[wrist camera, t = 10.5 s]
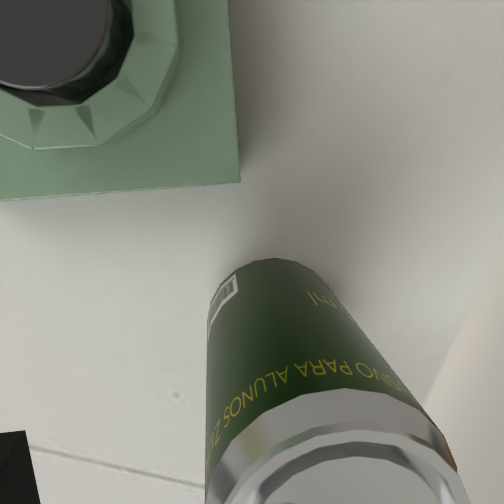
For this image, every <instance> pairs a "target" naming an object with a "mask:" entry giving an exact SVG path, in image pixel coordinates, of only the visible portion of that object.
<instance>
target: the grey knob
mask: <svg viewBox="0 0 504 504" xmlns="http://www.w3.org/2000/svg"><path fill="white" fill-rule="evenodd" d="M123 32H124V19H123V11H122V6H121V2H120V0H0V83H1V84H3V85H6V86H10V87H14V88H18V89H22V90H26V91H30V92H34V93H38V94H42V95H49V96H64V95H71V94H74V93H78V92H81V91H83V90H85V89H88V88H89V87H91V86H93V85H94V84H96V83H97V82H98V81H99V80H101V79H102V78H103V77H104V76H105V75H106V74H107V72H108V71H109V70H110V69H111V67H112V66H113V64H114V62H115V60H116V58H117V56H118V54H119V51H120V48H121V45H122V40H123Z"/></svg>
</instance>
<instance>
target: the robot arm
mask: <svg viewBox="0 0 504 504" xmlns="http://www.w3.org/2000/svg"><path fill="white" fill-rule="evenodd" d="M0 504H40V499H39V494H38V489H37V485H36V480H35V475H34V470H33V465H32V461H31V456H30V451H29V446H28V442H27V437H26V432H25V430H24V431H15V432H6V433H0Z"/></svg>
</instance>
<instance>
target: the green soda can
mask: <svg viewBox="0 0 504 504" xmlns="http://www.w3.org/2000/svg"><path fill="white" fill-rule="evenodd" d="M205 504H471V503H470V501H469V499H468V496H467V494H466V491H465V489H464V486H463V484H462V482H461V479H460V477H459V475H458V474H457V466H456V464H455V461H454V459H453V457H452V454H451V452H450V449H449V447H448V444H447V442H446V439H445V437H444V435H443V434H442V433H441V432H440V430H439V429H438V428H437V426H436V425H435V424H434V422H433V421H432V420H431V419H430V417H429V416H428V415H427V413H426V412H425V411H424V410H423V408H422V407H421V406H420V404H419V403H418V402H417V401H416V399H415V398H414V397H413V395H412V394H411V393H410V392H409V390H408V389H407V388H406V386H405V385H404V384H403V383H402V381H401V380H400V379H399V377H398V376H397V375H396V373H395V372H394V371H393V370H392V368H391V367H390V366H389V364H388V363H387V362H386V361H385V359H384V358H383V357H382V355H381V354H380V353H379V352H378V350H377V349H376V348H375V346H374V345H373V344H372V343H371V341H370V340H369V339H368V337H367V336H366V335H365V334H364V332H363V331H362V330H361V328H360V327H359V326H358V325H357V323H356V322H355V321H354V319H353V318H352V317H351V316H350V314H349V313H348V312H347V310H346V309H345V308H344V307H343V305H342V304H341V303H340V301H339V300H338V299H337V298H336V296H335V295H334V294H333V292H332V291H331V290H330V289H329V287H328V286H327V285H326V284H325V283H324V282H323V281H322V279H321V278H320V277H319V276H318V275H317V274H316V273H315V272H314V271H313V270H311V269H309V268H307V267H305V266H303V265H301V264H299V263H298V262H296V261H290V260H284V259H278V258H272V259H265V260H258V261H254V262H251V263H249V264H247V265H245V266H243V267H241V268H239V269H237V270H235V271H234V272H233V273H232V274H231V275H230V276H229V277H228V278H227V279H225V280H224V281H223V282H222V283H221V284H220V286H219V288H218V290H217V291H216V293H215V295H214V297H213V299H212V300H211V303H210V309H209V314H208V320H207V378H206V449H205Z"/></svg>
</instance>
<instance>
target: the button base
mask: <svg viewBox="0 0 504 504" xmlns="http://www.w3.org/2000/svg"><path fill="white" fill-rule="evenodd" d="M120 2H121V6H122V11H123V19H124V32H123V40H122V45H121V48H120V51H119V54H118V56H117V58H116V60H115V62H114V64H113V66H112V67H111V69H110V70H109V71H108V72H107V74H106V75H105V76H104V77H103V78H102V79H101V80H99V81H98V82H97V83H96V84H94V85H93V86H91V87H89V88H88V89H85V90H83V91H81V92H78V93H74V94H71V95H64V96H49V95H42V94H38V93H34V92H30V91H26V90H22V89H18V88H14V87H10V86H6V85H3V84H1V83H0V201H11V200H24V199H37V198H49V197H62V196H75V195H88V194H101V193H114V192H127V191H140V190H153V189H165V188H178V187H191V186H204V185H217V184H230V183H239V182H240V181H241V176H240V162H239V149H238V135H237V122H236V108H235V95H234V81H233V68H232V54H231V40H230V27H229V13H228V0H120Z"/></svg>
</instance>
